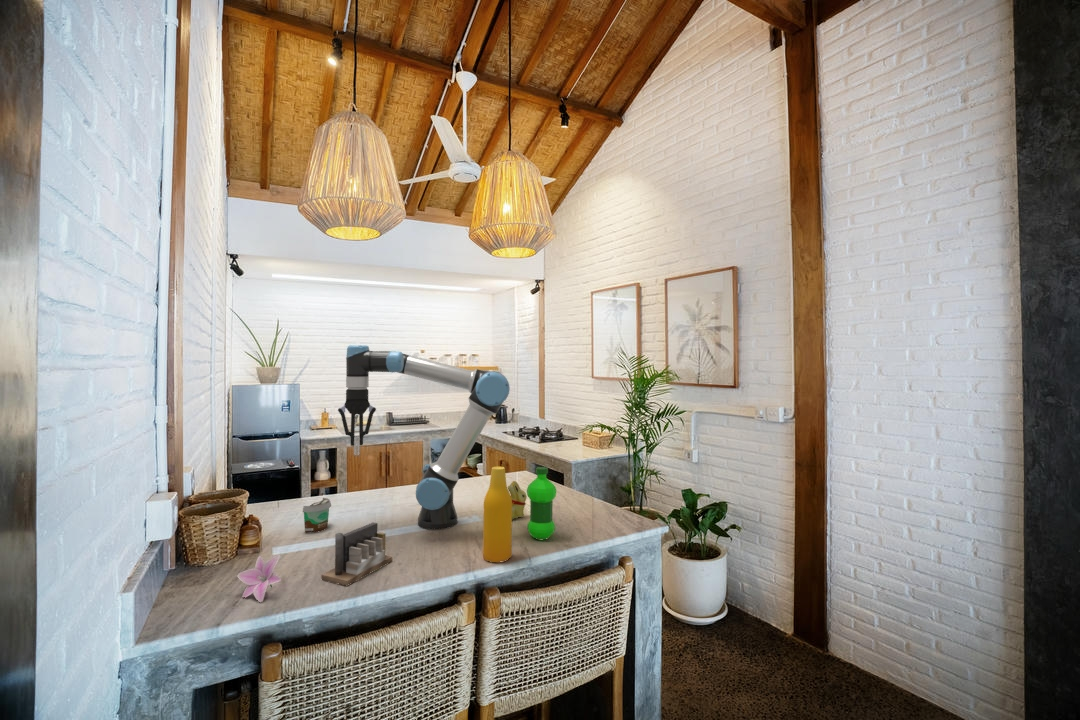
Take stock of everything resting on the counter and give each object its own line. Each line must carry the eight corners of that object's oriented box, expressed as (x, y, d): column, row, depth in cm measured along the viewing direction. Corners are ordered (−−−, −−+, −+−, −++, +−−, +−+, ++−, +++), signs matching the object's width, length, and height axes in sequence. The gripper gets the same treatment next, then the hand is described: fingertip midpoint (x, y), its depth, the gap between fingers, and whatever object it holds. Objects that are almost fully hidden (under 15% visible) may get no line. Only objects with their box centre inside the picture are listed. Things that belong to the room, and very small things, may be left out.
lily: (236, 593, 138) (225, 570, 133) (278, 565, 146) (269, 543, 141) (255, 620, 131) (244, 597, 126) (299, 589, 139) (290, 566, 134)
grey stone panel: (345, 570, 146) (345, 536, 146) (340, 569, 147) (340, 535, 147) (377, 555, 158) (377, 523, 158) (372, 554, 159) (373, 522, 159)
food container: (317, 535, 180) (317, 507, 180) (302, 534, 182) (302, 506, 182) (337, 524, 192) (338, 498, 192) (323, 523, 194) (323, 497, 194)
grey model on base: (346, 586, 141) (347, 539, 141) (321, 579, 145) (321, 534, 145) (392, 561, 158) (392, 520, 158) (368, 556, 162) (368, 516, 162)
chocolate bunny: (529, 517, 204) (530, 480, 204) (506, 522, 197) (506, 484, 197) (520, 513, 209) (520, 477, 209) (497, 517, 203) (498, 480, 203)
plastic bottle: (527, 532, 186) (527, 465, 186) (555, 533, 186) (556, 465, 186) (525, 542, 176) (526, 471, 176) (555, 543, 176) (556, 471, 176)
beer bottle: (487, 565, 156) (488, 472, 156) (479, 554, 165) (480, 466, 165) (515, 560, 160) (516, 469, 160) (505, 550, 168) (506, 464, 168)
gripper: (376, 387, 185) (375, 451, 185) (337, 388, 180) (336, 453, 180) (377, 388, 178) (377, 455, 178) (337, 389, 173) (336, 457, 173)
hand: (356, 454), depth 179 cm, fingers closed
